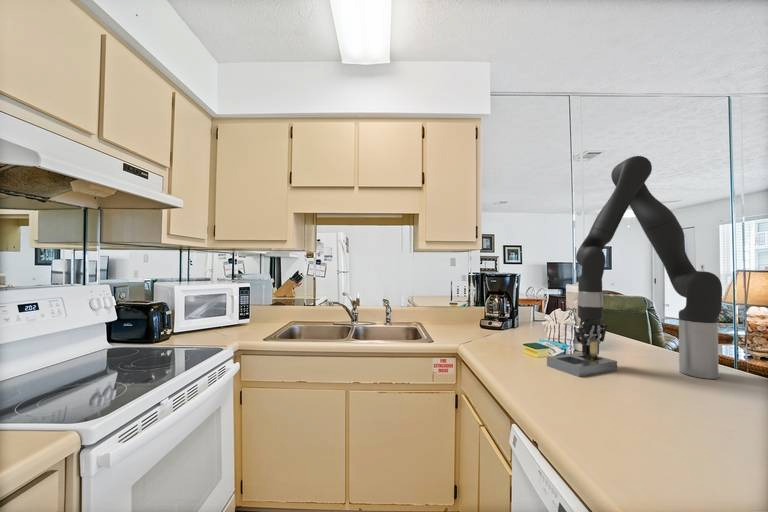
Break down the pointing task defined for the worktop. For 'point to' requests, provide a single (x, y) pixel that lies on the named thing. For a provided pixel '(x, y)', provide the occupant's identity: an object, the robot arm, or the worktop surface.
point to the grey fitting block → (581, 364)
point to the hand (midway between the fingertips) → (590, 354)
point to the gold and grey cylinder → (592, 350)
